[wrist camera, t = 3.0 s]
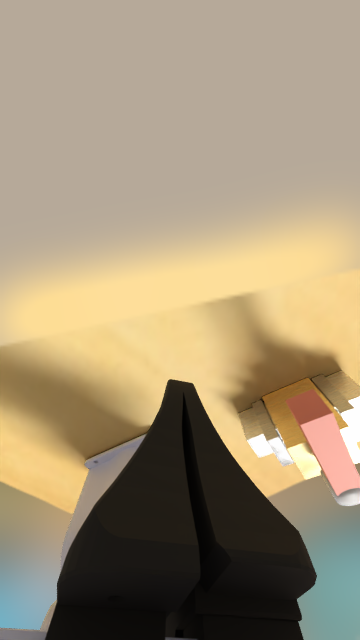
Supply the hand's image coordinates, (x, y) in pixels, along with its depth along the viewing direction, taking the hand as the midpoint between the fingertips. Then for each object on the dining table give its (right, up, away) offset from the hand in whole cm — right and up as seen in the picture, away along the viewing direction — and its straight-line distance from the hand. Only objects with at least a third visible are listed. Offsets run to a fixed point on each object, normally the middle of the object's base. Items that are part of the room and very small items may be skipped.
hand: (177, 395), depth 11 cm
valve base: (+11, -4, +9) cm, 14 cm away
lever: (+9, -4, +2) cm, 10 cm away
